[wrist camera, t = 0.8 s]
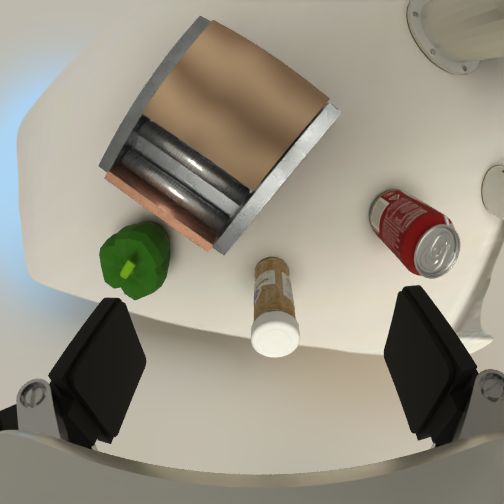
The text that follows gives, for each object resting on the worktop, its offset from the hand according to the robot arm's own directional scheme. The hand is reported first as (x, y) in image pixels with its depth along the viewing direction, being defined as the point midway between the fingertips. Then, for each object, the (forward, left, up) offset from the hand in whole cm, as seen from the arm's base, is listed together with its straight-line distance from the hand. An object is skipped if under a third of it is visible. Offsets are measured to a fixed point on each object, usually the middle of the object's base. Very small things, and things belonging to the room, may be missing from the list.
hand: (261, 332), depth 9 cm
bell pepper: (+15, -7, -26) cm, 31 cm away
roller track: (-1, -8, -26) cm, 27 cm away
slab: (-5, -8, -23) cm, 25 cm away
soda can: (-7, +15, -26) cm, 31 cm away
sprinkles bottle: (+9, +8, -26) cm, 29 cm away
